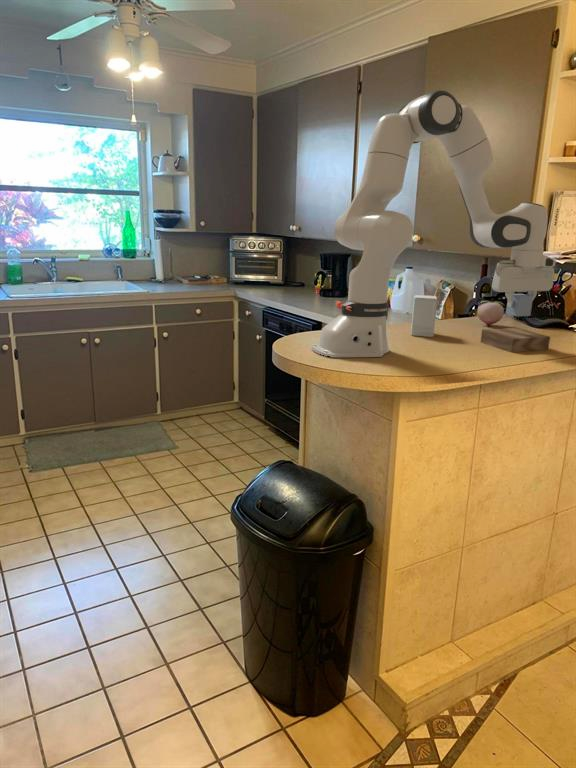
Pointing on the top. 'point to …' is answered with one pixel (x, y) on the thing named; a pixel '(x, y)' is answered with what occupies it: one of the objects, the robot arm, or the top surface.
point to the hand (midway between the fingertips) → (519, 306)
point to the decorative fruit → (490, 312)
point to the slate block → (521, 305)
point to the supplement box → (423, 315)
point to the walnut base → (515, 339)
